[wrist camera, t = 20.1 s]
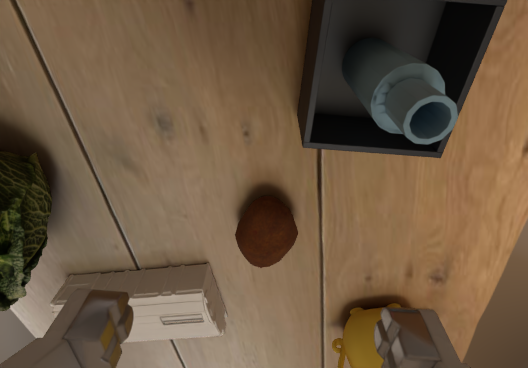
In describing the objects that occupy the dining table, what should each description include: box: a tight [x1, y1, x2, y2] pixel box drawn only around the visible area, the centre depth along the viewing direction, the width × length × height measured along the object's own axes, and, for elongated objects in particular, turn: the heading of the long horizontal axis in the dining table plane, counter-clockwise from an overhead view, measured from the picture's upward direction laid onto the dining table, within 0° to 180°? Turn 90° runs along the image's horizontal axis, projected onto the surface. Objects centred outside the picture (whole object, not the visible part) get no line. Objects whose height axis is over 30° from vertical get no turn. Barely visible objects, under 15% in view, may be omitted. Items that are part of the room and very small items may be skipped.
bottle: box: [342, 38, 458, 144], centre depth 26 cm, size 5×5×16 cm
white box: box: [50, 263, 228, 342], centre depth 53 cm, size 25×15×7 cm, turn 99°
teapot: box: [332, 303, 400, 368], centre depth 52 cm, size 14×20×13 cm
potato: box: [235, 196, 298, 268], centre depth 42 cm, size 8×11×8 cm
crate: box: [297, 0, 507, 158], centre depth 30 cm, size 13×13×9 cm
